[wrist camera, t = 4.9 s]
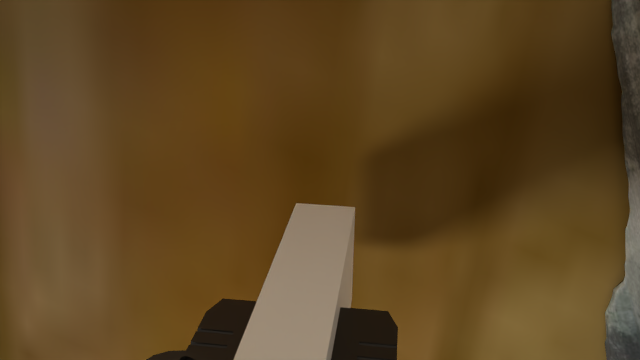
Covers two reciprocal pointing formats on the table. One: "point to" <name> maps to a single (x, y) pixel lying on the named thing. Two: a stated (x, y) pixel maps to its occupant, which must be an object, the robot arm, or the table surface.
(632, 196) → the stone block
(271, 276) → the robot arm
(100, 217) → the table surface
